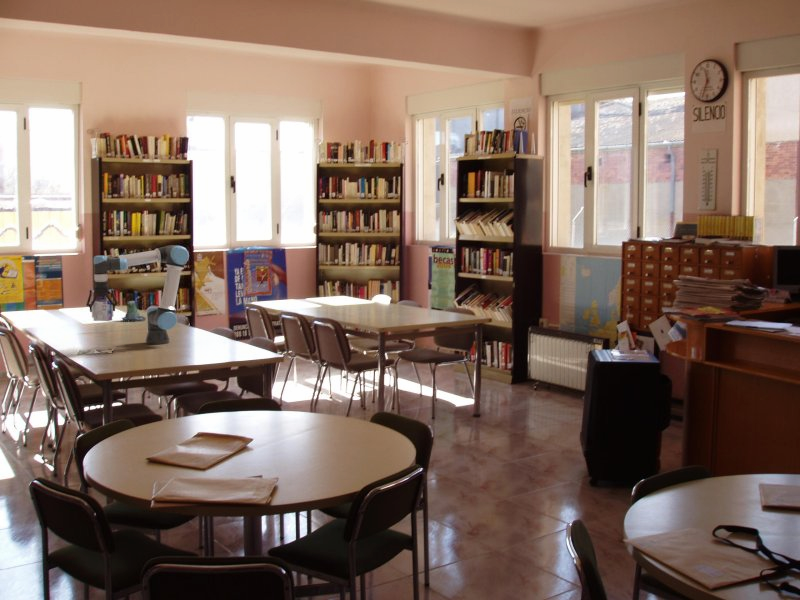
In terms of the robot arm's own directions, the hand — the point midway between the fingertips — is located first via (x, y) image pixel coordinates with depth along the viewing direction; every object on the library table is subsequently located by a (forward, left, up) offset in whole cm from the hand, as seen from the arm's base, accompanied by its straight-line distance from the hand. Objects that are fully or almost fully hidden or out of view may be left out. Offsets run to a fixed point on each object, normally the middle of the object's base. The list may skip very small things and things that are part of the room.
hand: (102, 316), depth 522 cm
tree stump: (-10, -146, -22) cm, 148 cm away
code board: (+5, 0, -22) cm, 22 cm away
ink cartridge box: (0, 0, -2) cm, 2 cm away
